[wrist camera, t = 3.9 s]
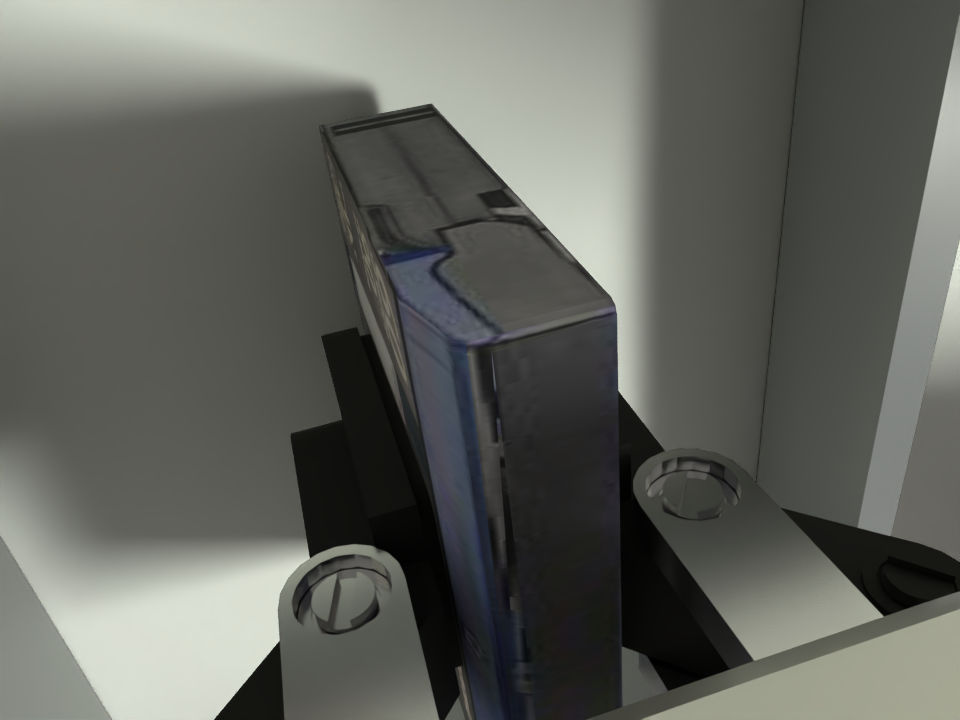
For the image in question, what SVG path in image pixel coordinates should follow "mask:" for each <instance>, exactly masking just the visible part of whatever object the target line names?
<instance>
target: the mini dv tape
mask: <svg viewBox="0 0 960 720" xmlns="http://www.w3.org/2000/svg"><path fill="white" fill-rule="evenodd" d="M319 129H320V134H321V138H322V143H323V147H324V152H325V156H326V161H327V165H328V170H329V175H330V179H331V184H332V188H333V193H334V197H335V202H336V206H337V211H338V215H339V220H340V224H341V229H342V233H343V238H344V242H345V247H346V251H347V256H348V260H349V265H350V269H351V274H352V279H353V283H354V288H355V292H356V297H357V301H358V306H359V310H360V315H361V319H362V324H363V328H364V333H365V335H367V334H370V335H371V337H372V340H373V343H374V345H375V348H376V351H377V354H378V356H379V359H380V362H381V364H382V367H383V370H384V373H385V375H386V378H387V381H388V383H389V386H390V389H391V392H392V394H393V397H394V400H395V402H396V405H397V408H398V411H399V413H400V416H401V419H402V422H403V424H404V427H405V430H406V432H407V435H408V438H409V441H410V443H411V446H412V449H413V451H414V454H415V457H416V460H417V462H418V465H419V468H420V470H421V473H422V476H423V479H424V481H425V484H426V487H427V490H428V493H429V497H430V500H431V504H432V508H433V512H434V516H435V521H436V526H437V531H438V536H439V541H440V547H441V552H442V557H443V562H444V567H445V573H446V578H447V583H448V588H449V593H450V598H451V604H452V609H453V614H454V619H455V624H456V630H457V635H458V640H459V645H460V650H461V656H462V661H463V666H460V667H457V668H455V670H456V675H457V680H458V685H459V690H460V695H459V697H458V698H459V701H460V704H461V707H462V710H463V713H464V717H465V720H587V719H590V718H593V717H596V716H598V715H601V714H604V713H607V712H610V711H613V710H616V709H618V708H621V707H623V698H622V629H621V560H620V491H619V422H618V353H617V313H616V307H615V304H614V302H613V300H612V298H611V297H610V295H609V294H608V293H607V292H606V291H605V290H604V289H603V288H602V287H601V286H600V285H599V284H598V282H597V281H596V280H595V279H594V278H593V277H592V276H591V275H590V274H589V273H588V272H587V271H586V270H585V268H584V267H583V266H582V265H581V264H580V263H579V262H578V261H577V260H576V259H575V258H574V257H573V256H572V254H571V253H570V252H569V251H568V250H567V249H566V248H565V247H564V246H563V245H562V244H561V243H560V241H559V240H558V239H557V238H556V237H555V236H554V235H553V234H552V233H551V232H550V231H549V230H548V229H547V227H546V226H545V225H544V224H543V223H542V222H541V221H540V220H539V219H538V218H537V217H536V216H535V215H534V213H533V212H532V211H531V210H530V209H529V208H528V207H527V206H526V205H525V204H524V203H523V202H522V201H521V199H520V198H519V197H518V196H517V195H516V194H515V193H514V192H513V191H512V190H511V189H510V188H509V186H508V185H507V184H506V183H505V182H504V181H503V180H502V179H501V178H500V177H499V176H498V175H497V174H496V172H495V171H494V170H493V169H492V168H491V167H490V166H489V165H488V164H487V163H486V162H485V161H484V160H483V158H482V157H481V156H480V155H479V154H478V153H477V152H476V151H475V150H474V149H473V148H472V147H471V146H470V144H469V143H468V142H467V141H466V140H465V139H464V138H463V137H462V136H461V135H460V134H459V133H458V131H457V130H456V129H455V128H454V127H453V126H452V125H451V124H450V123H449V122H448V121H447V120H446V119H445V117H444V116H443V115H442V114H441V113H440V112H439V111H438V110H437V109H436V108H435V107H434V106H433V105H432V104H427V105H422V106H417V107H412V108H407V109H402V110H397V111H391V112H386V113H381V114H376V115H371V116H366V117H361V118H356V119H350V120H345V121H340V122H335V123H330V124H325V125H320V126H319Z"/></svg>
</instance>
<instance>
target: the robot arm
mask: <svg viewBox="0 0 960 720" xmlns="http://www.w3.org/2000/svg"><path fill="white" fill-rule="evenodd" d="M321 337H322V341H323V345H324V349H325V353H326V357H327V361H328V364H329V368H330V372H331V376H332V380H333V384H334V388H335V392H336V396H337V400H338V403H339V407H340V411H341V415H342V419H343V420H341V421H337V422H333V423H329V424H325V425H322V426H318V427H314V428H310V429H306V430H303V431H299V432H295V433H291V443H292V449H293V455H294V461H295V468H296V474H297V480H298V486H299V493H300V499H301V505H302V511H303V518H304V524H305V530H306V536H307V543H308V549H309V555H310V559H309V560H307V561H306V562H304V563H303V564H301V565H300V566H299V567H298V568H297V569H296V571H295V572H294V573H293V574H292V575H291V576H290V577H289V578H288V580H287V582H286V584H285V585H284V587H283V589H282V591H281V593H280V598H279V606H278V619H279V636H280V641H279V642H278V643H277V645H276V646H275V647H274V648H273V649H272V651H271V652H270V653H269V654H268V655H267V657H266V658H265V659H264V660H263V661H262V663H261V664H260V665H259V666H258V667H257V669H256V670H255V671H254V672H253V674H252V675H251V676H250V677H249V678H248V680H247V681H246V682H245V683H244V684H243V686H242V687H241V688H240V689H239V690H238V692H237V693H236V694H235V695H234V696H233V698H232V699H231V700H230V701H229V702H228V704H227V705H226V706H225V707H224V708H223V710H222V711H221V712H220V713H219V714H218V716H217V717H216V718H215V719H214V720H445V719H446V717H447V715H448V714H449V712H450V710H451V708H452V707H453V705H454V703H455V702H456V700H457V698H458V697H459V695H460V690H459V685H458V680H457V675H456V670H455V668H457V667H460V666H463V661H462V656H461V650H460V645H459V640H458V635H457V630H456V624H455V619H454V614H453V609H452V604H451V598H450V593H449V588H448V583H447V578H446V573H445V567H444V562H443V557H442V552H441V547H440V541H439V536H438V531H437V526H436V521H435V516H434V512H433V508H432V504H431V500H430V497H429V493H428V490H427V487H426V484H425V481H424V479H423V476H422V473H421V470H420V468H419V465H418V462H417V460H416V457H415V454H414V451H413V449H412V446H411V443H410V441H409V438H408V435H407V432H406V430H405V427H404V424H403V422H402V419H401V416H400V413H399V411H398V408H397V405H396V402H395V400H394V397H393V394H392V392H391V389H390V386H389V383H388V381H387V378H386V375H385V373H384V370H383V367H382V364H381V362H380V359H379V356H378V354H377V351H376V348H375V345H374V343H373V340H372V337H371V335H370V334H367V335H363V336H360V334H359V331H358V328H357V327H355V328H351V329H347V330H343V331H339V332H334V333H330V334H326V335H322V336H321ZM618 422H619V491H620V560H621V629H622V647H625V648H627V649H630V650H633V651H634V658H635V661H636V664H637V666H638V669H639V671H640V673H641V674H642V676H643V678H644V679H645V681H646V683H647V684H648V686H649V688H650V690H651V691H652V693H653V695H654V696H653V697H650V698H647V699H644V700H641V701H638V702H636V703H633V704H630V705H627V706H624V707H621V708H618V709H616V710H613V711H610V712H607V713H604V714H601V715H598V716H596V717H593V718H590V719H587V720H960V562H958V561H957V560H955V559H953V558H952V557H950V556H948V555H947V554H945V553H943V552H941V551H939V550H936V549H933V548H930V547H928V546H925V545H922V544H918V543H915V542H911V541H907V540H903V539H899V538H895V537H892V536H888V535H884V534H880V533H876V532H872V531H868V530H865V529H861V528H857V527H853V526H849V525H845V524H842V523H838V522H834V521H830V520H826V519H822V518H818V517H815V516H811V515H807V514H803V513H799V512H795V511H792V510H788V509H784V508H780V507H779V506H778V505H777V504H776V503H775V501H774V500H773V499H772V498H771V497H770V496H769V495H768V494H767V493H766V492H765V491H764V490H763V489H762V488H761V487H760V486H759V485H758V484H757V482H756V481H755V480H754V479H753V478H752V477H751V476H750V475H749V474H748V473H747V472H746V471H745V470H744V469H743V468H742V467H740V466H739V465H738V464H737V463H735V462H734V461H733V460H731V459H729V458H727V457H725V456H722V455H720V454H718V453H715V452H711V451H706V450H701V449H675V450H670V451H665V450H664V449H663V448H662V447H661V445H660V444H659V443H658V441H657V440H656V439H655V438H654V436H653V435H652V434H651V432H650V431H649V430H648V429H647V427H646V426H645V425H644V423H643V422H642V421H641V420H640V418H639V417H638V416H637V414H636V413H635V412H634V411H633V409H632V408H631V407H630V405H629V404H628V403H627V402H626V400H625V399H624V398H623V397H622V395H621V394H620V393H619V391H618Z"/></svg>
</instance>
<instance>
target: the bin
mask: <svg viewBox="0 0 960 720" xmlns="http://www.w3.org/2000/svg"><path fill="white" fill-rule="evenodd" d="M959 240H960V0H805V7H804V16H803V26H802V36H801V46H800V56H799V66H798V76H797V86H796V96H795V106H794V116H793V126H792V136H791V146H790V156H789V166H788V176H787V186H786V196H785V206H784V216H783V226H782V236H781V246H780V256H779V266H778V276H777V285H776V295H775V305H774V315H773V325H772V335H771V345H770V355H769V365H768V375H767V385H766V395H765V405H764V415H763V425H762V435H761V445H760V455H759V465H758V475H757V484H758V485H759V486H760V487H761V488H762V489H763V490H764V491H765V492H766V493H767V494H768V495H769V496H770V497H771V498H772V499H773V500H774V501H775V503H776V504H777V505H778V506H779V507H780V508H784V509H788V510H792V511H795V512H799V513H803V514H807V515H811V516H815V517H818V518H822V519H826V520H830V521H834V522H838V523H842V524H845V525H849V526H853V527H857V528H861V529H865V530H868V531H872V532H876V533H880V534H884V535H888V536H891V534H892V529H893V525H894V521H895V516H896V512H897V508H898V503H899V499H900V495H901V490H902V486H903V482H904V478H905V473H906V469H907V465H908V460H909V456H910V452H911V447H912V443H913V439H914V434H915V430H916V426H917V421H918V417H919V413H920V409H921V404H922V400H923V396H924V391H925V387H926V383H927V378H928V374H929V370H930V365H931V361H932V357H933V352H934V348H935V344H936V340H937V335H938V331H939V327H940V322H941V318H942V314H943V309H944V305H945V301H946V296H947V292H948V288H949V283H950V279H951V275H952V271H953V266H954V262H955V258H956V253H957V249H958V245H959ZM653 696H654V695H653V693H652V691H651V690H650V688H649V686H648V684H647V683H646V681H645V679H644V678H643V676H642V674H641V673H640V671H639V669H638V666H637V664H636V661H635V658H634V651H633V650H630V649H627V648H625V647H622V698H623V707H624V706H627V705H630V704H633V703H636V702H638V701H641V700H644V699H647V698H650V697H653ZM0 720H112V719H111V717H110V716H109V714H108V712H107V711H106V709H105V707H104V706H103V704H102V702H101V701H100V699H99V698H98V696H97V694H96V693H95V691H94V689H93V688H92V686H91V684H90V683H89V681H88V679H87V678H86V676H85V674H84V673H83V671H82V670H81V668H80V666H79V665H78V663H77V661H76V660H75V658H74V656H73V655H72V653H71V651H70V650H69V648H68V646H67V645H66V643H65V642H64V640H63V638H62V637H61V635H60V633H59V632H58V630H57V628H56V627H55V625H54V623H53V622H52V620H51V618H50V617H49V615H48V614H47V612H46V610H45V609H44V607H43V605H42V604H41V602H40V600H39V599H38V597H37V595H36V594H35V592H34V590H33V589H32V587H31V586H30V584H29V582H28V581H27V579H26V577H25V576H24V574H23V572H22V571H21V569H20V567H19V566H18V564H17V562H16V561H15V559H14V558H13V556H12V554H11V553H10V551H9V549H8V548H7V546H6V544H5V543H4V541H3V539H2V538H1V536H0ZM445 720H465V717H464V713H463V710H462V707H461V704H460V701H459V698H457V700H456V702H455V703H454V705H453V707H452V708H451V710H450V712H449V714H448V715H447V717H446V719H445Z"/></svg>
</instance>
